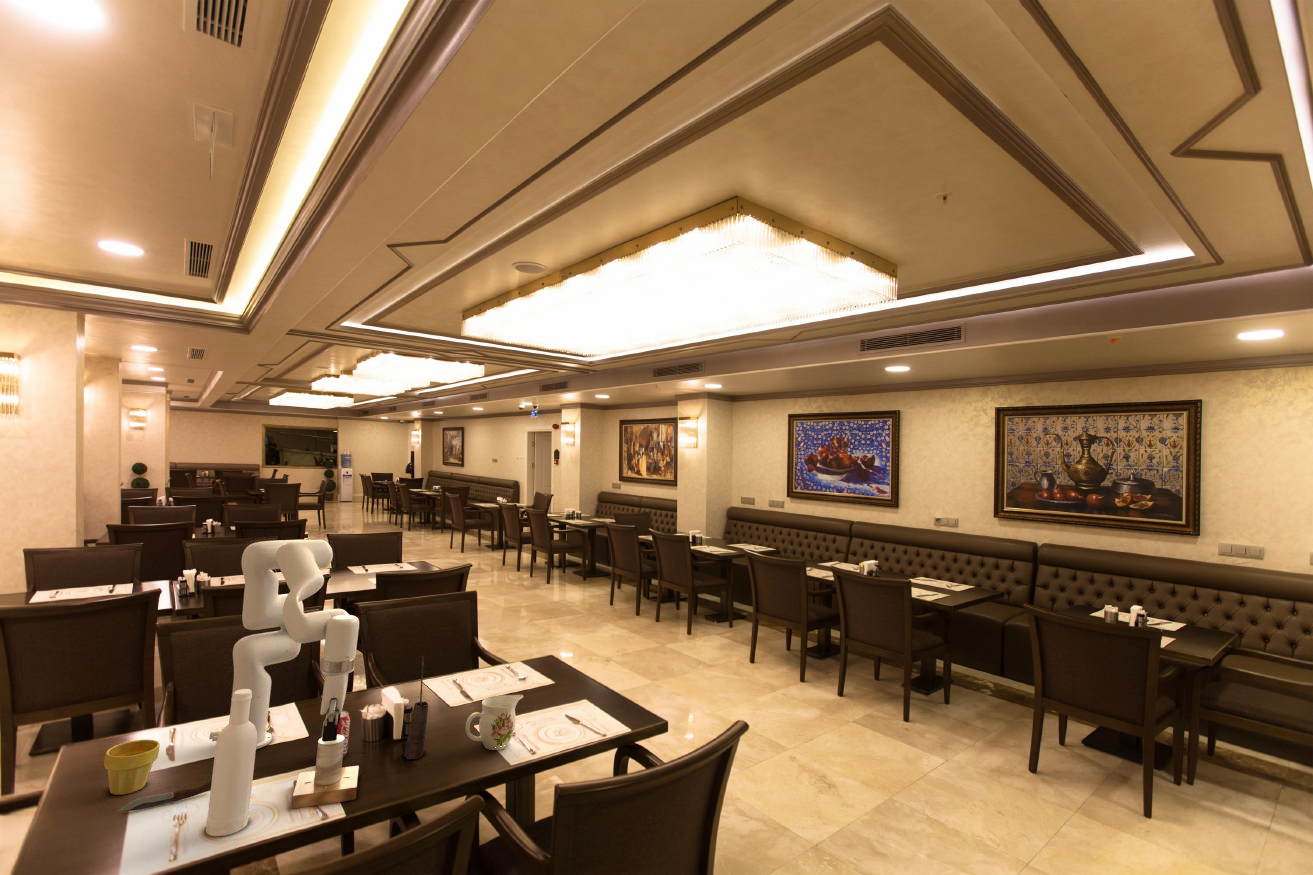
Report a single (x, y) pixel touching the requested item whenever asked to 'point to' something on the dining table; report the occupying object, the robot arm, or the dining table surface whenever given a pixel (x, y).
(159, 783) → the dining table surface
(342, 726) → the soda can
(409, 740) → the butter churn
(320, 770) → the towel roll
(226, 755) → the bottle
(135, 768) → the flower pot
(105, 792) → the dining table surface
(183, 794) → the knife
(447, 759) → the dining table surface
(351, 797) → the stand
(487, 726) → the pitcher
